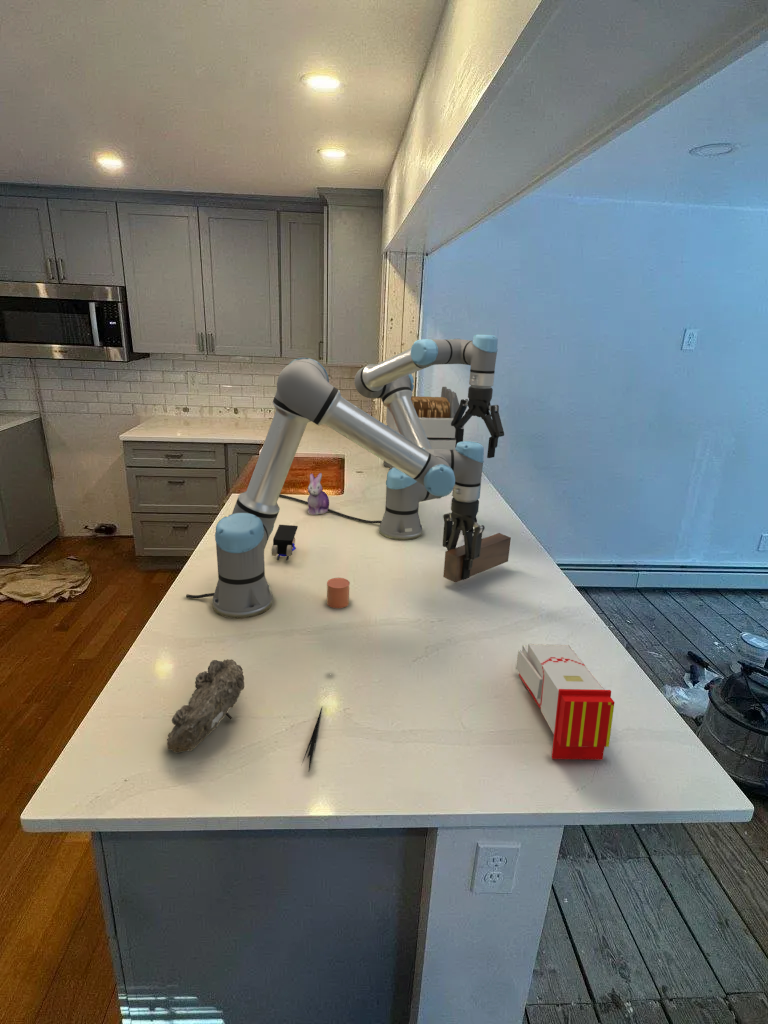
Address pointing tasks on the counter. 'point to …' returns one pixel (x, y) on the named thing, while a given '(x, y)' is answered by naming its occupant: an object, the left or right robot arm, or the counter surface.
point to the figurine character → (284, 541)
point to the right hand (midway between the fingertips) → (474, 453)
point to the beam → (490, 556)
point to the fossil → (206, 705)
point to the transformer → (433, 419)
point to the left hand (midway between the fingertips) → (458, 574)
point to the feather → (313, 740)
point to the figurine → (317, 496)
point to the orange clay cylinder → (338, 592)
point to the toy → (568, 700)
